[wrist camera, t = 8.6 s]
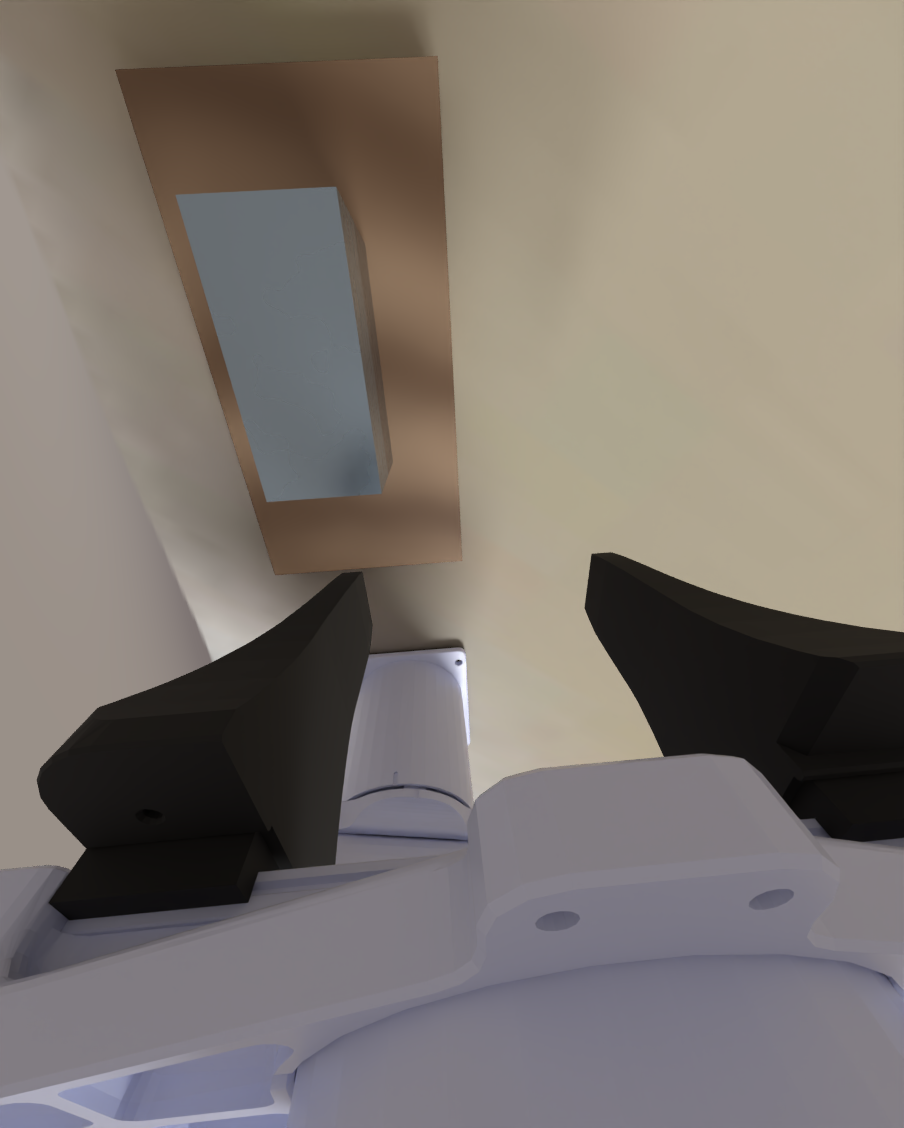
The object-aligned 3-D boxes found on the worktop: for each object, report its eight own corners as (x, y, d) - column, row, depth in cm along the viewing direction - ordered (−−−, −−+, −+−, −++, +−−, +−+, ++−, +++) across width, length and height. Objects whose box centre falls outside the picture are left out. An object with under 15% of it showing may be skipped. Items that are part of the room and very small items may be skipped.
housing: (365, 244, 14) (336, 186, 9) (393, 462, 18) (381, 493, 13) (255, 249, 14) (175, 194, 9) (307, 468, 18) (267, 501, 13)
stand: (460, 548, 22) (462, 560, 20) (284, 562, 21) (275, 575, 20) (436, 87, 13) (437, 56, 12) (147, 100, 13) (115, 69, 12)
